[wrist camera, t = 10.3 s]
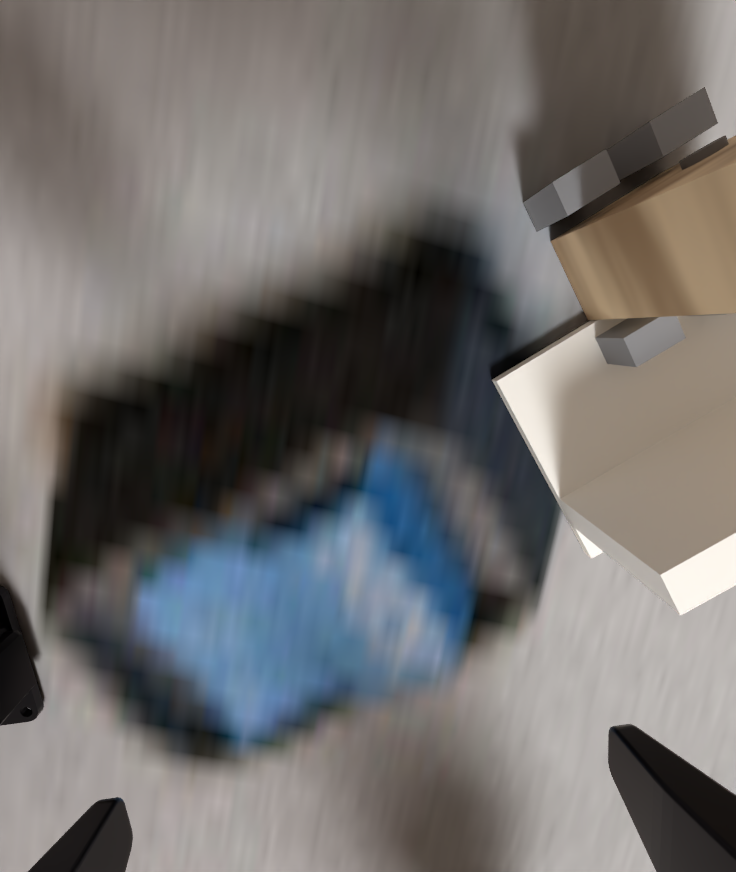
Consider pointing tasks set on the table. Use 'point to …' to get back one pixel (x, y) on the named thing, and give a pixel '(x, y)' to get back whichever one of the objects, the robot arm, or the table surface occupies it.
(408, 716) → the table surface
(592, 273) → the wooden building block
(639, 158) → the cream board with pegs
